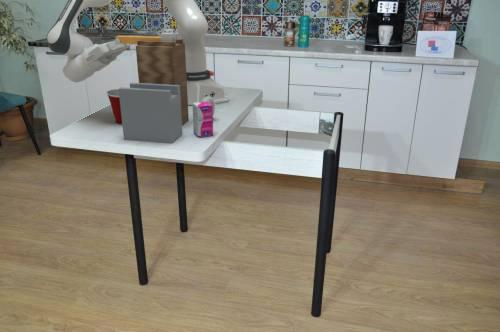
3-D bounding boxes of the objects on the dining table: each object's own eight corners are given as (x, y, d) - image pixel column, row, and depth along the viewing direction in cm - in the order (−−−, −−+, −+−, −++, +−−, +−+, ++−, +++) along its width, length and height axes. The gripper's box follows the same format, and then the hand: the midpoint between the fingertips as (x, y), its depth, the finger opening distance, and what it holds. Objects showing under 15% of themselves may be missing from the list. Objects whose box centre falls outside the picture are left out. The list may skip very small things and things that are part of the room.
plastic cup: (131, 126, 181) (128, 95, 177) (105, 125, 183) (101, 94, 178) (142, 118, 191) (139, 88, 187) (116, 117, 193) (113, 87, 188)
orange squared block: (115, 43, 175) (114, 32, 174) (120, 42, 179) (119, 31, 177) (171, 45, 170) (170, 34, 169) (175, 44, 174) (175, 32, 172)
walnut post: (142, 126, 181) (135, 41, 169) (155, 118, 191) (149, 37, 179) (177, 129, 177) (172, 43, 166) (188, 120, 188) (184, 38, 176)
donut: (206, 125, 182) (205, 99, 178) (198, 124, 183) (196, 99, 179) (216, 118, 191) (215, 94, 187) (208, 117, 192) (207, 93, 188)
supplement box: (198, 138, 168) (196, 106, 164) (193, 133, 173) (191, 102, 169) (213, 136, 170) (212, 104, 166) (208, 131, 176) (207, 100, 171)
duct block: (123, 139, 167) (118, 88, 160) (136, 130, 176) (132, 82, 169) (172, 143, 163) (168, 91, 156) (182, 134, 172) (179, 85, 165)
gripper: (78, 53, 171) (106, 34, 165) (107, 45, 189) (133, 27, 184) (88, 68, 172) (116, 50, 167) (116, 59, 190) (142, 42, 185)
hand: (125, 38), depth 176 cm, fingers open, 8 cm apart
